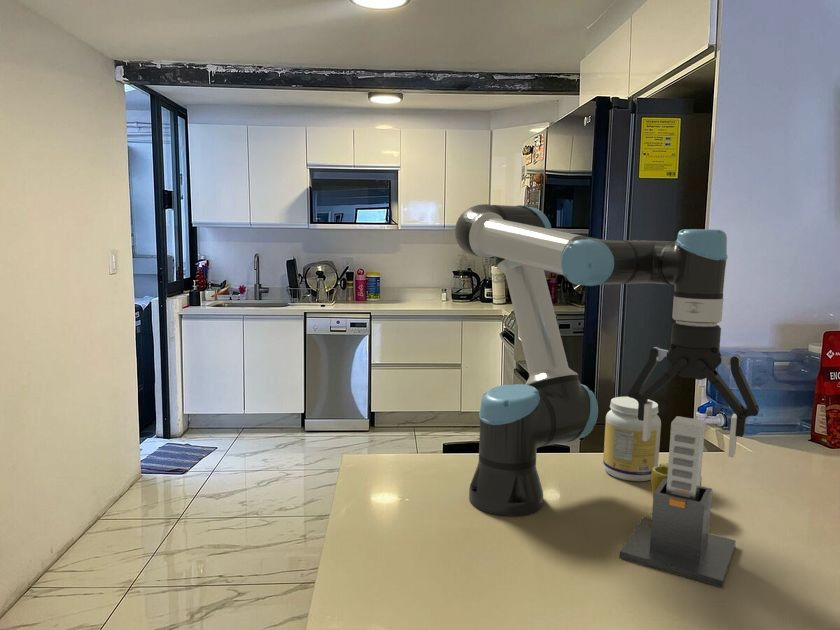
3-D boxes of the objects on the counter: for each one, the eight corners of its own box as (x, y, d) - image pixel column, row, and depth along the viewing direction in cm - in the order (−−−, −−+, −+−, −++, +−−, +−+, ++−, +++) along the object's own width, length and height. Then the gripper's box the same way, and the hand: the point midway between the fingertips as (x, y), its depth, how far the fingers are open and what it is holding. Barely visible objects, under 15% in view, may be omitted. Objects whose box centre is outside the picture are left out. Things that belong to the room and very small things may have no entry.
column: (661, 547, 108) (670, 423, 105) (668, 535, 112) (676, 416, 109) (690, 554, 105) (700, 428, 103) (695, 542, 110) (705, 420, 107)
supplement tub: (612, 459, 154) (616, 392, 152) (663, 471, 147) (668, 401, 145) (594, 474, 145) (598, 403, 142) (648, 487, 138) (653, 412, 135)
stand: (619, 557, 107) (623, 495, 106) (642, 522, 120) (646, 466, 119) (722, 588, 98) (728, 520, 97) (735, 546, 112) (740, 486, 110)
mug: (716, 515, 120) (700, 463, 121) (661, 525, 122) (646, 474, 124) (704, 501, 132) (690, 454, 133) (654, 511, 134) (641, 464, 135)
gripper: (614, 318, 108) (607, 438, 110) (781, 332, 94) (769, 468, 97) (626, 314, 114) (619, 428, 117) (784, 327, 100) (773, 455, 103)
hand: (687, 446), depth 107 cm, fingers open, 13 cm apart
